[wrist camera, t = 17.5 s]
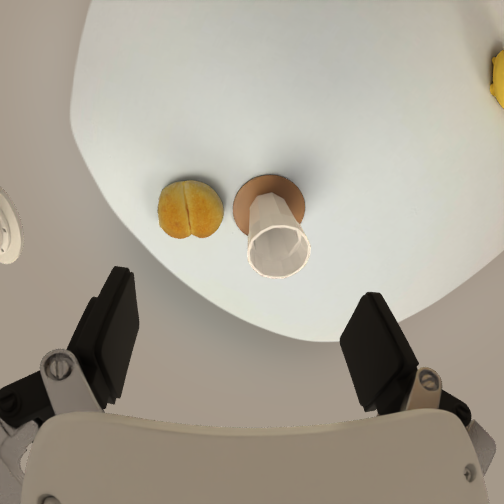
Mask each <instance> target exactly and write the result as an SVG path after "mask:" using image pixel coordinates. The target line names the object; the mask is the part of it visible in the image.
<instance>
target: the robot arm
mask: <svg viewBox="0 0 504 504" xmlns="http://www.w3.org/2000/svg"><path fill="white" fill-rule="evenodd" d="M10 242H11V235H10V229H9V225H8V222H7V219H6V217H5V215H4V213H3V211H2V210H1V208H0V255H1V254H4V253H5V252H6V251H7V250H8V248H9V246H10ZM138 330H139V315H138V308H137V300H136V291H135V281H134V274H133V273H132V272H130V271H129V269H128V268H125V267H118V266H115V267H114V268H113V269H112V271H111V273H110V275H109V277H108V279H107V280H106V282H105V284H104V286H103V288H102V290H101V292H100V294H99V296H98V297H92V298H91V300H90V301H89V303H88V305H87V307H86V309H85V311H84V313H83V315H82V317H81V319H80V321H79V323H78V325H77V328H76V330H75V332H74V334H73V336H72V338H71V341H70V343H69V345H68V347H67V350H65V349H56V350H52V351H50V352H48V353H47V354H46V355H45V356H44V357H43V359H42V361H41V364H40V371H37V372H35V373H33V374H31V375H29V376H27V377H25V378H22V379H20V380H18V381H16V382H14V383H11V384H9V385H7V386H5V387H3V388H2V389H0V504H489V499H488V494H487V489H486V485H485V481H484V478H483V477H484V475H485V473H486V471H487V469H488V467H489V465H490V463H491V461H492V459H493V457H494V454H495V451H496V444H495V441H494V440H493V438H492V437H491V436H490V435H489V434H488V433H487V432H486V431H485V430H484V429H483V428H482V427H481V426H480V425H479V424H478V423H477V422H476V421H475V419H473V420H471V412H470V409H469V407H468V406H467V405H466V404H465V403H464V402H462V401H461V400H459V399H457V398H455V397H454V396H452V395H451V394H449V393H447V392H445V391H444V390H442V381H441V378H440V376H439V375H438V373H437V372H436V371H434V370H433V369H431V368H428V367H422V368H420V369H419V370H418V369H417V366H418V364H419V363H418V361H417V359H416V357H415V355H414V353H413V351H412V349H411V347H410V345H409V343H408V341H407V339H406V338H405V336H404V334H403V332H402V330H401V328H400V326H399V325H398V323H397V321H396V319H395V317H394V316H393V314H392V312H391V310H390V309H389V307H388V305H387V303H386V302H385V300H384V298H383V296H382V295H381V294H380V293H376V292H367V293H366V294H365V295H363V296H362V297H361V299H360V301H359V303H358V305H357V307H356V309H355V311H354V313H353V315H352V317H351V319H350V320H349V322H348V324H347V326H346V328H345V330H344V331H343V333H342V335H341V337H340V346H341V348H342V351H343V354H344V357H345V360H346V363H347V366H348V369H349V372H350V375H351V378H352V381H353V384H354V387H355V390H356V393H357V396H358V399H359V403H360V405H361V406H363V408H364V411H365V412H369V411H374V410H376V409H377V411H378V414H377V416H376V417H371V418H366V419H360V420H353V421H346V422H339V423H331V424H320V425H310V426H296V427H271V428H241V427H215V426H201V425H190V424H181V423H171V422H163V421H156V420H149V419H143V418H136V417H130V416H124V415H118V414H110V413H105V412H104V410H103V409H105V408H106V406H107V403H110V404H115V401H116V398H120V397H121V394H122V390H123V386H124V381H125V377H126V373H127V369H128V366H129V362H130V358H131V354H132V351H133V347H134V344H135V340H136V336H137V333H138ZM31 442H32V443H33V444H32V447H31V450H30V453H29V456H28V460H27V465H26V469H25V474H24V473H23V472H22V470H21V466H20V460H21V457H22V455H23V454H24V453H25V452H26V451H27V449H26V447H27V446H28V445H29V444H30V443H31Z"/></svg>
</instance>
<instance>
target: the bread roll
mask: <svg viewBox="0 0 504 504" xmlns="http://www.w3.org/2000/svg"><path fill="white" fill-rule="evenodd" d="M223 211H224V209H223V204H222V201H221V200H220V198H219V196H218V194H217V193H216V192H215V191H214V190H213V189H212V188H211V187H210V186H208V185H207V184H205V183H202V182H199V181H193V180H188V181H179V182H175V183H172V184H170V185H168V186H167V187H165V188H164V189H163V190H162V192H161V194H160V197H159V204H158V218H159V225H160V227H161V228H162V229H163V230H164V231H165V232H166V233H167V234H168V235H170V236H171V237H174V238H178V239H182V238H186V237H188V236H190V235H191V234H192V235H194V236H197V237H199V238H205V237H208V236H210V235H212V234H213V233H214V232H215V231H216V230H217V229H218V228H219V226H220V224H221V222H222V219H223V215H224V212H223Z"/></svg>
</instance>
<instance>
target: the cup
mask: <svg viewBox="0 0 504 504" xmlns="http://www.w3.org/2000/svg"><path fill="white" fill-rule="evenodd" d="M310 248H311V245H310V243H309V241H308V239H307V237H306V235H305V233H304V231H303V229H302V228H301V226H300V224H299V223H298V222H297V221H296V219H295V218H294V216H293V214H292V212H291V211H290V209H289V207H288V206H287V204H286V202H285V200H284V199H283V198H281V197H279V196H278V195H276V194H274V193H272V192H271V193H267V194H263V195H259V196H257V197H256V198H255V200H254V202H253V203H252V205H251V206H250V221H249V234H248V262H249V263H250V265H251V267H252V268H253V270H255V271H256V272H257V273H259V274H260V275H261V276H263V277H268V278H273V279H277V278H286V277H289V276H291V275H293V274H295V273H297V272H298V271H299V270H301V269H302V268H303V267H304V266H305V265H306V263H307V261H308V258H309V256H310Z"/></svg>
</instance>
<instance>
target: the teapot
mask: <svg viewBox="0 0 504 504" xmlns="http://www.w3.org/2000/svg"><path fill="white" fill-rule="evenodd" d="M492 63H493V66H494V68H493V84H491V85H490V92H491V94H492V95H493V96H496V99H497V101H498V102H499V104H500V105H501V106H502V108H503V109H504V50H502V51H501V52H500V53H499V54H498V55H497V57H493V58H492Z"/></svg>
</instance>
